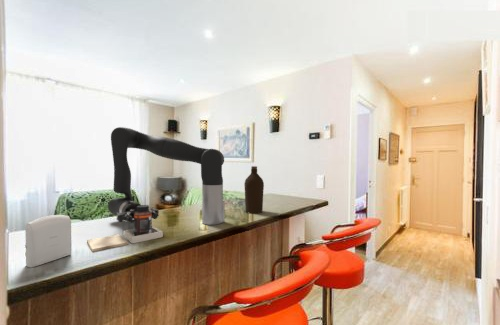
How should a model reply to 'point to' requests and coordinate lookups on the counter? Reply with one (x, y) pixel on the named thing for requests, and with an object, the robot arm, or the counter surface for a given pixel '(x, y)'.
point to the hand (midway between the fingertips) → (144, 218)
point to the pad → (106, 242)
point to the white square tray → (133, 239)
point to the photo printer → (47, 239)
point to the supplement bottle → (142, 220)
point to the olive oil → (254, 192)
